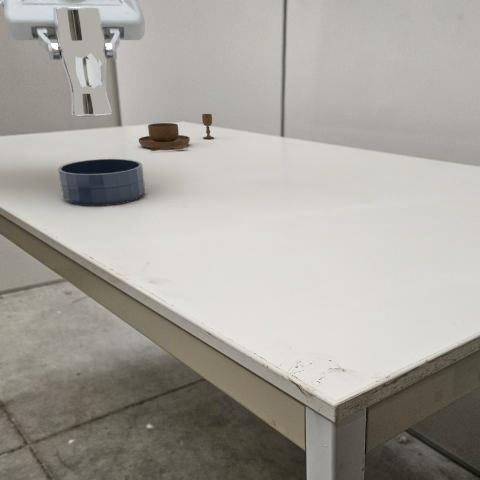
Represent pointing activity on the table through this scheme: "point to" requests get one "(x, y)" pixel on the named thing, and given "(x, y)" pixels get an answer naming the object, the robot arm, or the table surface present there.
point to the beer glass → (83, 58)
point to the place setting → (170, 135)
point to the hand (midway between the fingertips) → (84, 56)
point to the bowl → (101, 181)
